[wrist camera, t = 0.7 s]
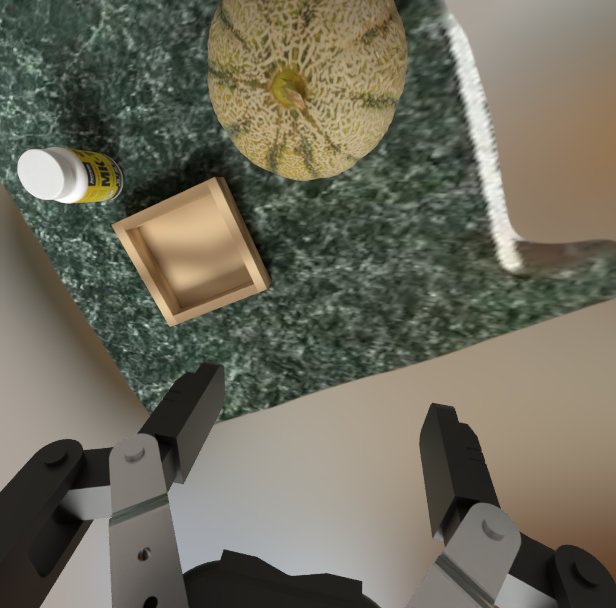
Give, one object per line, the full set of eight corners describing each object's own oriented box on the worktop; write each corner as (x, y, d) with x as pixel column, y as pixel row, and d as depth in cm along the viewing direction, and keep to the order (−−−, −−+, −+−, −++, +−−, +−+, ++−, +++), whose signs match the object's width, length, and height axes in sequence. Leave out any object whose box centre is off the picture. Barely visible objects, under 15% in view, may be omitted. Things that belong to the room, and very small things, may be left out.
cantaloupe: (369, -23, 30) (404, -207, 16) (403, 155, 34) (455, 135, 20) (212, 40, 32) (118, -73, 18) (263, 199, 36) (221, 209, 22)
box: (127, 221, 38) (111, 225, 35) (223, 177, 36) (214, 176, 33) (180, 316, 41) (169, 326, 39) (271, 281, 39) (266, 289, 36)
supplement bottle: (133, 187, 37) (80, 188, 29) (99, 208, 38) (38, 215, 30) (106, 143, 36) (42, 132, 28) (71, 166, 36) (0, 161, 29)
